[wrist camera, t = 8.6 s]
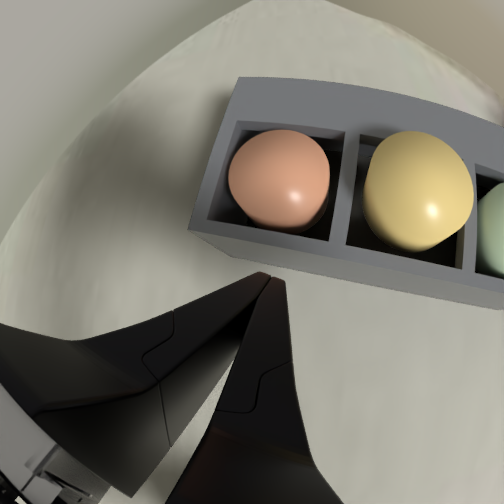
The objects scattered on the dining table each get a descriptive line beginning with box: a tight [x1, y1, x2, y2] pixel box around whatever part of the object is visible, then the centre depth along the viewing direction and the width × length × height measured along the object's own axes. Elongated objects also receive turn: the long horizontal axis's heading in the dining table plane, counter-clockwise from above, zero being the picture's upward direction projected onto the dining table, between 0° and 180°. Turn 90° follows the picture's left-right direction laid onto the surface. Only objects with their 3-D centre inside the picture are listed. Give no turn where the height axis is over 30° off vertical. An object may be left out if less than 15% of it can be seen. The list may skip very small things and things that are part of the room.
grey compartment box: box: [188, 77, 504, 310], centre depth 17 cm, size 11×22×8 cm, turn 76°
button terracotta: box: [228, 130, 330, 235], centre depth 16 cm, size 5×5×3 cm
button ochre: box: [362, 131, 474, 253], centre depth 12 cm, size 5×5×3 cm
